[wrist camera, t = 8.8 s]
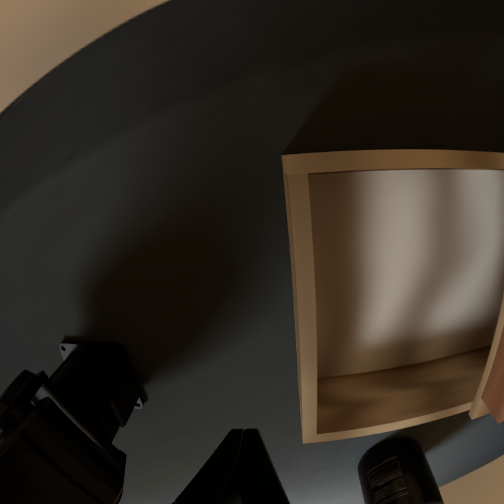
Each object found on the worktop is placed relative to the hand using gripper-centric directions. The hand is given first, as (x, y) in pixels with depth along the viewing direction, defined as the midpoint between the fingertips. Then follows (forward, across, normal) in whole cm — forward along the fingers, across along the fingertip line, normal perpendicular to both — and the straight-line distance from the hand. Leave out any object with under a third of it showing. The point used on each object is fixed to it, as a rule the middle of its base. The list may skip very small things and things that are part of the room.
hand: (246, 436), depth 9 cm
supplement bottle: (+12, -11, +20) cm, 26 cm away
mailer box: (+12, -11, 0) cm, 16 cm away
